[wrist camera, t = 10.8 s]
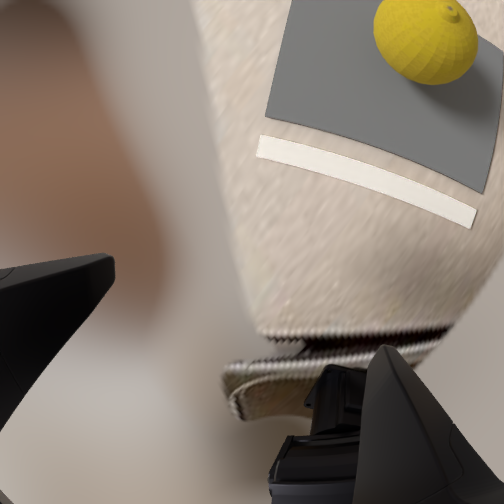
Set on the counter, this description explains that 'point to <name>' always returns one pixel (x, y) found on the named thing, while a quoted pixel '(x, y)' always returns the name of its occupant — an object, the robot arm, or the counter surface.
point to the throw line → (365, 177)
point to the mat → (384, 92)
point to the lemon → (426, 39)
